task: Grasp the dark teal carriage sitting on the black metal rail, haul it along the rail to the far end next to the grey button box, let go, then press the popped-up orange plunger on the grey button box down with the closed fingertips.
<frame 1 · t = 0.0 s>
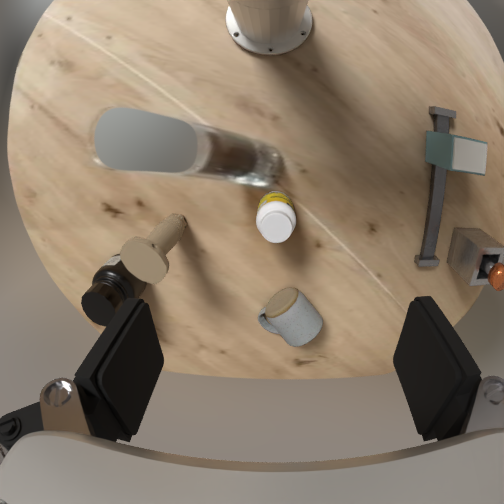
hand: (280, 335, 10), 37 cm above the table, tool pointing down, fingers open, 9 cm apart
grey button box: (463, 245, 46), on the table
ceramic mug: (286, 307, 54), on the table
carriage: (454, 151, 35), point 5 cm above the table, slide at -7.0 cm
ink bottle: (127, 273, 53), on the table
rail: (435, 188, 42), on the table
handle: (178, 221, 48), on the table
supplement bottle: (275, 206, 46), on the table
plunger: (490, 268, 37), point 10 cm above the table, slide at 0.0 cm
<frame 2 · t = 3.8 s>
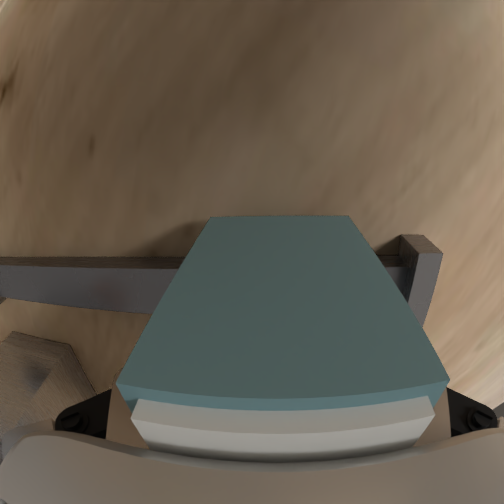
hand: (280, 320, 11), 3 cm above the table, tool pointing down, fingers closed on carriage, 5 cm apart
grey button box: (55, 370, 18), on the table
carriage: (280, 358, 9), point 5 cm above the table, slide at -7.0 cm, touching gripper
rail: (135, 278, 14), on the table
plunger: (2, 457, 10), point 10 cm above the table, slide at 0.0 cm
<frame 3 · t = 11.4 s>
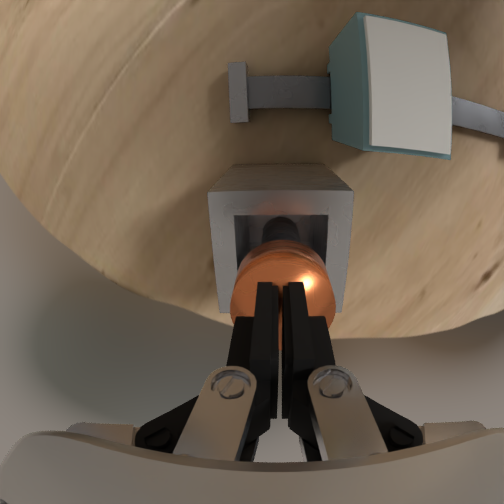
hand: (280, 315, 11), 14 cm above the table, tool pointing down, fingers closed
grey button box: (279, 207, 23), on the table
carriage: (381, 91, 14), point 5 cm above the table, slide at 4.2 cm
rail: (408, 102, 19), on the table
plunger: (281, 263, 15), point 10 cm above the table, slide at 0.0 cm, touching gripper
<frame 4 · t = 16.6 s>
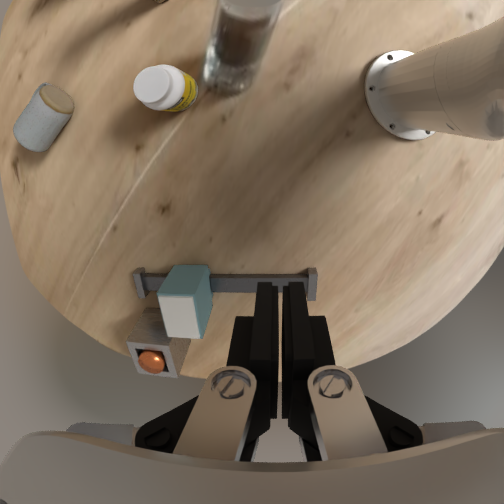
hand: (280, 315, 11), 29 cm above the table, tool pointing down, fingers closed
grey button box: (168, 325, 49), on the table
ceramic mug: (55, 111, 35), on the table
carriage: (188, 298, 40), point 5 cm above the table, slide at 4.2 cm
rail: (223, 281, 44), on the table
supplement bottle: (179, 92, 34), on the table
plunger: (158, 347, 44), point 6 cm above the table, slide at 3.7 cm
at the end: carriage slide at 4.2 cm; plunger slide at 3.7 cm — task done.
